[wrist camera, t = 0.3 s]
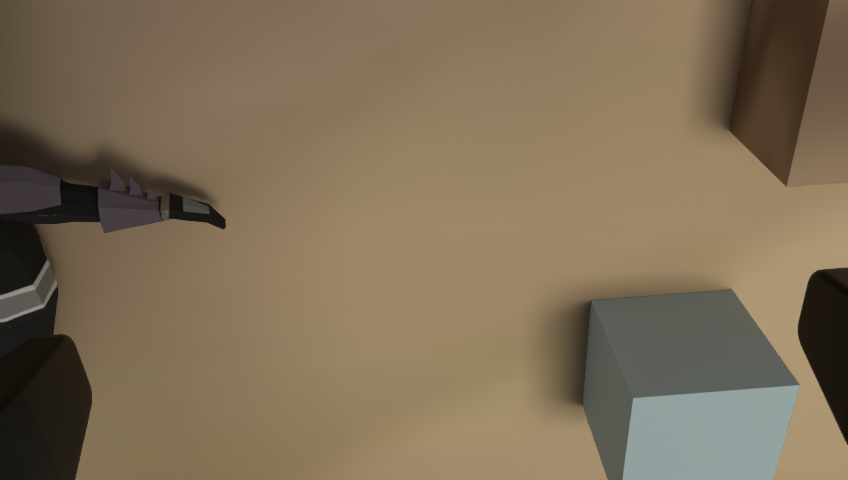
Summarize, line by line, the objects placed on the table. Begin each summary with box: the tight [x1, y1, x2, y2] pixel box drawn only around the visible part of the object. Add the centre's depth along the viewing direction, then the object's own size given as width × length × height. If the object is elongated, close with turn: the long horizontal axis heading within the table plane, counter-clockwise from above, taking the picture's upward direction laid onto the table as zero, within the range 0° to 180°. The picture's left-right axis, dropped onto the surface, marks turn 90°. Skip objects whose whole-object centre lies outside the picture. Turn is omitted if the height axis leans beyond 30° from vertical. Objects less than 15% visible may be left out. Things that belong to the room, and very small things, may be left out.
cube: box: [583, 290, 800, 480], centre depth 26 cm, size 5×5×5 cm
